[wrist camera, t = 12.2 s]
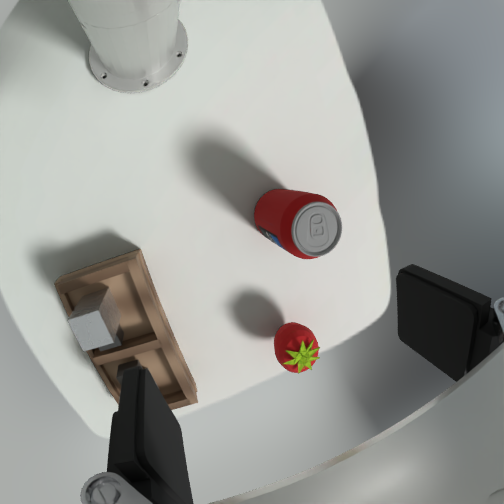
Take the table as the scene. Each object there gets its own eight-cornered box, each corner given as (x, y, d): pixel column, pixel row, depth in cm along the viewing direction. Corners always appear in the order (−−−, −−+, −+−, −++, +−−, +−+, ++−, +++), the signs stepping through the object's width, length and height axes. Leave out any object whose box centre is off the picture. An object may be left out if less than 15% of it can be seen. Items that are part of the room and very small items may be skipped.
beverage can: (254, 242, 41) (288, 269, 30) (249, 191, 39) (283, 198, 28) (302, 235, 43) (348, 257, 31) (298, 186, 41) (346, 191, 29)
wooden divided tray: (59, 276, 35) (36, 303, 27) (140, 248, 37) (133, 269, 29) (125, 403, 42) (122, 443, 33) (195, 383, 44) (203, 423, 35)
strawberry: (272, 357, 46) (296, 396, 37) (256, 319, 44) (280, 355, 34) (306, 340, 47) (336, 375, 38) (293, 301, 45) (325, 333, 35)
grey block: (82, 296, 35) (67, 320, 28) (109, 287, 35) (98, 310, 29) (101, 337, 36) (92, 367, 30) (128, 329, 37) (122, 358, 31)
